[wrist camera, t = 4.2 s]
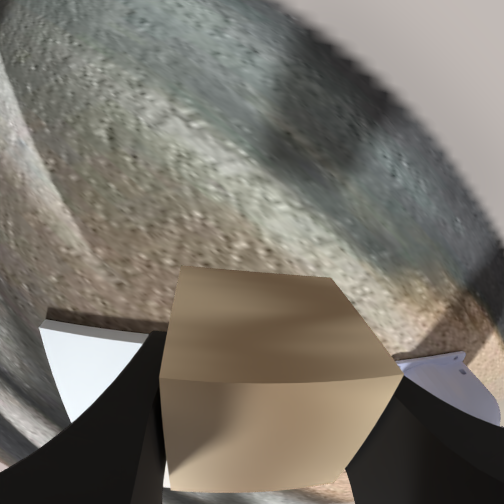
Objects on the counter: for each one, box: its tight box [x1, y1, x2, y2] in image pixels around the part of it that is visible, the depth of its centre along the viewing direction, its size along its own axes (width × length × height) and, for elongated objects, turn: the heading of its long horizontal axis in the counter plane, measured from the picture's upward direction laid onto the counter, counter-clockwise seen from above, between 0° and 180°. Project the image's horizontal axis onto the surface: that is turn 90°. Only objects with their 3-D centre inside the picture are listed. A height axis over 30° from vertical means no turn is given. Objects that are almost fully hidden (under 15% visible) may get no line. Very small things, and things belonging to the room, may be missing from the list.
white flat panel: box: [39, 319, 149, 423], centre depth 20 cm, size 18×16×1 cm
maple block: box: [159, 266, 404, 493], centre depth 8 cm, size 4×4×4 cm
